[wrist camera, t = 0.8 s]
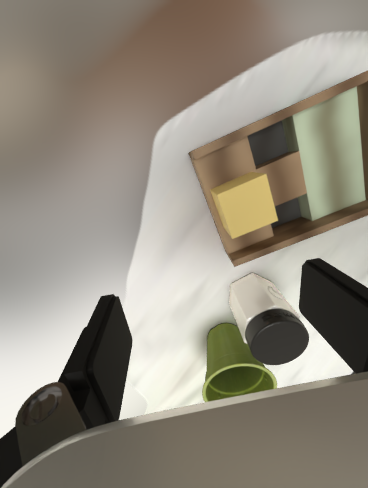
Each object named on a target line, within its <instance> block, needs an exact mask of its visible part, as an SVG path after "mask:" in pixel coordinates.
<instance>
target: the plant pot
mask: <svg viewBox="0 0 368 488" xmlns="http://www.w3.org/2000/svg"><path fill="white" fill-rule="evenodd" d="M272 389H277V381H276V378H275V376H274V375H273V374H272V372H271V371H269V370H268V369H267V368H265V366H264V365H263V363H261V362H259V361H257V360H256V359H255V358H254V357H253V355H252V354H251V351H250V349H249V346H248V344H246V343H244V341H243V338H242V336H241V333H240V331H239V328H238V327H237V326H235V325H233V324H229V323H223V324H219V325H217V326H216V327H215V328H213V329H211V330H210V332H209V333H208V337H207V372H206V377H205V383H204V386H203V390H202V395H203V399H204V401H205V402H210V401H215V400H220V399H225V398H230V397H235V396H240V395H246V394H251V393H256V392H261V391H266V390H272Z"/></svg>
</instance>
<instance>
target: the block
mask: <svg viewBox="0 0 368 488" xmlns="http://www.w3.org/2000/svg"><path fill="white" fill-rule="evenodd" d="M210 191H211V194H212V197H213V200H214V202H215V205H216V208H217V211H218V213H219V216H220V219H221V222H222V224H223V227H224V229H225V230H226V231H227V232H228V234H229V235H230V236H231V238H232V239H234V238H236V237H239V236H241V235H244V234H246V233H249V232H251V231H254V230H256V229H259V228H261V227H264V226H266V225H269V224H271V223H274V222H276V221H278V218H277V214H276V210H275V206H274V202H273V198H272V195H271V191H270V187H269V183H268V179H267V175H266V174H264V173H256V172H250V173H247V174H245V175H243V176H240V177H238V178H236V179H233V180H231V181H229V182H226V183H224V184H222V185H220V186H217V187H215V188H213V189H210Z"/></svg>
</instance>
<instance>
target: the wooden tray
mask: <svg viewBox="0 0 368 488" xmlns="http://www.w3.org/2000/svg"><path fill="white" fill-rule="evenodd" d="M189 156H190V158H191V161H192V164H193V166H194V169H195V172H196V174H197V177H198V180H199V182H200V185H201V188H202V190H203V193H204V196H205V198H206V201H207V203H208V206H209V209H210V211H211V214H212V217H213V219H214V222H215V225H216V227H217V230H218V233H219V235H220V238H221V241H222V243H223V246H224V249H225V251H226V253H227V255H228V257H229V258H230V260H231V262H232V263H233V265H234V267H235V266H238V265H241V264H243V263H246V262H248V261H251V260H253V259H256V258H259V257H261V256H264V255H266V254H269V253H271V252H274V251H277V250H279V249H282V248H284V247H287V246H290V245H292V244H295V243H297V242H300V241H302V240H305V239H308V238H310V237H313V236H315V235H318V234H321V233H323V232H326V231H328V230H331V229H333V228H336V227H339V226H341V225H344V224H346V223H349V222H352V221H354V220H357V219H359V218H362V217H364V216H367V215H368V71H366V72H363V73H361V74H359V75H357V76H355V77H353V78H350V79H348V80H346V81H344V82H342V83H339V84H337V85H335V86H333V87H331V88H329V89H326V90H324V91H322V92H320V93H318V94H315V95H313V96H311V97H309V98H307V99H305V100H302V101H300V102H298V103H296V104H294V105H291V106H289V107H287V108H285V109H283V110H281V111H278V112H276V113H274V114H272V115H270V116H267V117H265V118H263V119H261V120H259V121H257V122H254V123H252V124H250V125H248V126H246V127H243V128H241V129H239V130H237V131H235V132H233V133H230V134H228V135H226V136H224V137H222V138H219V139H217V140H215V141H213V142H211V143H209V144H206V145H204V146H202V147H200V148H198V149H195V150H193V151H191V152H190V153H189ZM250 172H256V173H264V174H266V175H267V179H268V183H269V187H270V191H271V195H272V198H273V202H274V206H275V210H276V214H277V218H278V221H276V222H274V223H271V224H269V225H266V226H264V227H261V228H259V229H256V230H254V231H251V232H249V233H246V234H244V235H241V236H239V237H236V238H234V239H232V238H231V236H230V235H229V234H228V232H227V231H226V230H225V229H224V227H223V224H222V222H221V219H220V216H219V213H218V211H217V208H216V205H215V202H214V200H213V197H212V194H211V191H210V189H213V188H215V187H217V186H220V185H222V184H224V183H226V182H229V181H231V180H233V179H236V178H238V177H240V176H243V175H245V174H247V173H250Z"/></svg>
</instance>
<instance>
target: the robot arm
mask: <svg viewBox="0 0 368 488" xmlns="http://www.w3.org/2000/svg"><path fill="white" fill-rule="evenodd" d="M299 309H300V312H301V313H302V315H303V316H304V317H305V318H306V319H307V320H308V321H309V322H310V323H311V324H312V326H313V327H314V328H315V329H316V330H317V331H318V332H319V333H320V334H321V336H322V337H323V338H324V339H325V340H326V341H327V342H328V343H329V344H330V345H331V347H332V348H333V349H334V350H335V351H336V352H337V353H338V354H339V355H340V357H341V358H342V359H343V360H344V361H345V362H346V363H347V364H348V365H349V366H350V368H351V369H352V370H353V371H354V372H355V373H356V374H351V375H346V376H341V377H335V378H330V379H324V380H319V381H314V382H308V383H303V384H298V385H292V386H287V387H282V388H277V389H272V390H266V391H261V392H256V393H251V394H246V395H240V396H235V397H230V398H225V399H220V400H215V401H210V402H205V403H200V404H195V405H190V406H184V407H179V408H174V409H169V410H164V411H160V412H155V413H150V414H146V415H141V416H137V417H132V418H127V419H123V420H119V416H120V410H121V405H122V399H123V393H124V387H125V382H126V377H127V371H128V365H129V360H130V354H131V348H132V336H131V333H130V330H129V327H128V324H127V321H126V318H125V315H124V312H123V308H122V305H121V302H120V299H119V297H115V296H114V295H113V294H112V295H106V296H101V298H100V300H99V302H98V304H97V306H96V308H95V310H94V312H93V314H92V316H91V319H90V321H89V323H88V325H87V327H85V328H84V329H83V331H82V333H81V335H80V337H79V339H78V341H77V343H76V345H75V347H74V349H73V351H72V354H71V356H70V358H69V360H68V362H67V364H66V366H65V368H64V370H63V372H62V374H61V376H60V378H59V380H58V382H54V383H50V384H47V385H45V386H43V387H41V388H40V389H38V390H37V391H36V392H35V393H33V394H32V395H31V396H30V397H29V398H28V399H27V400H26V401H25V402H24V404H23V405H22V407H21V408H20V410H19V411H18V414H17V417H16V424H15V427H14V428H13V429H12V430H10V431H9V432H8V433H7V434H6V435H4V436H3V437H2V438H1V439H0V488H368V288H367V287H365V286H364V285H362V284H361V283H359V282H357V281H356V280H354V279H353V278H351V277H349V276H348V275H346V274H344V273H343V272H341V271H340V270H338V269H336V268H335V267H333V266H332V265H330V264H328V263H327V262H325V261H323V260H322V259H320V258H316V259H311V260H307V261H306V262H305V264H303V265H302V275H301V287H300V300H299Z"/></svg>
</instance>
